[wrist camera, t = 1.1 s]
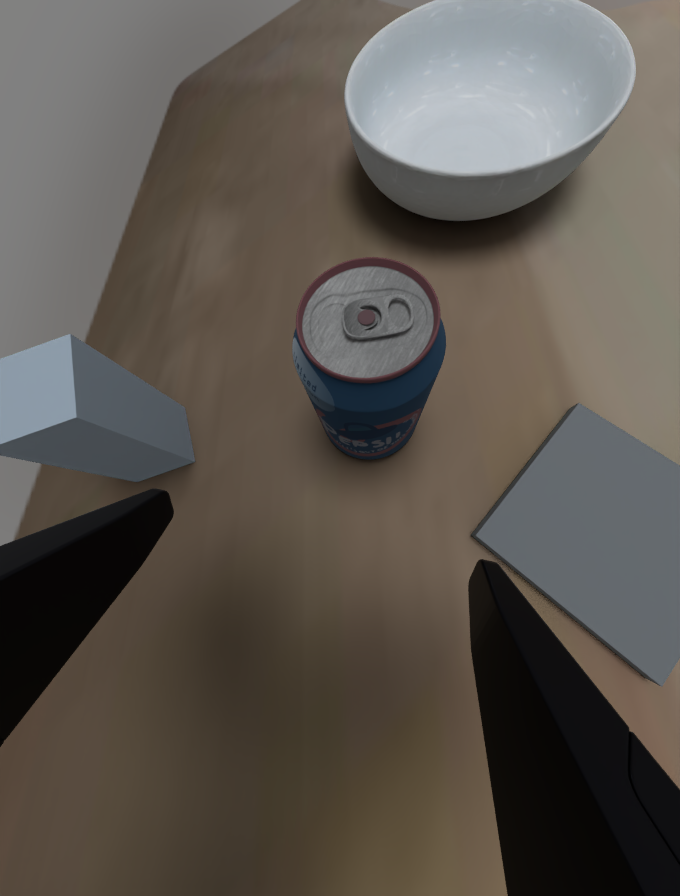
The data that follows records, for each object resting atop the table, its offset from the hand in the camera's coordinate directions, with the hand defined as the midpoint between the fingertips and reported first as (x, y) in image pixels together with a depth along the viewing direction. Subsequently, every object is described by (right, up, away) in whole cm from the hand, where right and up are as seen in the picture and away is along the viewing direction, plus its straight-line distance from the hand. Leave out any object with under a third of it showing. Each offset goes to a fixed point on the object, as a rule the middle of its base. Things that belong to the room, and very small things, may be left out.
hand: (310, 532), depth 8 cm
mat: (+18, -3, +11) cm, 22 cm away
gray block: (-14, +3, +16) cm, 22 cm away
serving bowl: (+12, +29, +21) cm, 38 cm away
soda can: (+3, +5, +15) cm, 16 cm away
